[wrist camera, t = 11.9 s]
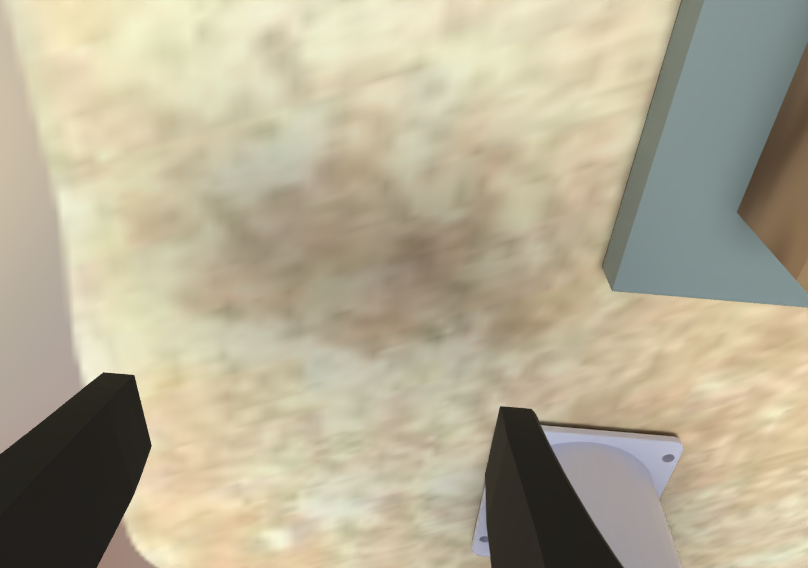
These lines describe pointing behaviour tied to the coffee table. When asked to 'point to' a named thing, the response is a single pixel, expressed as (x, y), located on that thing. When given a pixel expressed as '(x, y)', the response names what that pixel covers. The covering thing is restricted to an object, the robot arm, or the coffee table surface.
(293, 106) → the coffee table surface
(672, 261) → the dock
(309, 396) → the coffee table surface
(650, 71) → the coffee table surface
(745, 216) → the tan rectangular block
